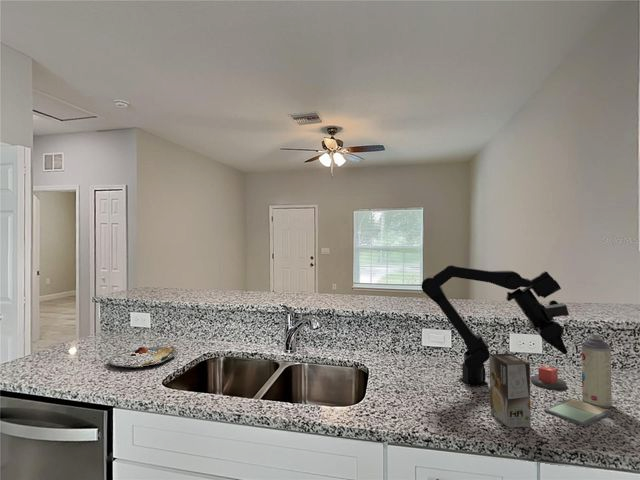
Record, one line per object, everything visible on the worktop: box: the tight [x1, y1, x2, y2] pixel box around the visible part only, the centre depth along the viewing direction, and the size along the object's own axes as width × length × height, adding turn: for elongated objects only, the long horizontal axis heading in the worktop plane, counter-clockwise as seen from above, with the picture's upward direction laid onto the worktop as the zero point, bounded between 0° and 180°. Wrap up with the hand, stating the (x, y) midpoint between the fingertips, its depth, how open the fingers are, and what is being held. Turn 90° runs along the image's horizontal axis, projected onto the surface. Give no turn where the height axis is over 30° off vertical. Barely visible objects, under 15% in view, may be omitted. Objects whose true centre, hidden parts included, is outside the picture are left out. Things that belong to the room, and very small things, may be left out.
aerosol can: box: [581, 332, 613, 410], centre depth 108 cm, size 7×7×20 cm
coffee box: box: [488, 353, 532, 429], centre depth 99 cm, size 9×6×16 cm
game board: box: [544, 398, 612, 428], centre depth 102 cm, size 14×10×1 cm
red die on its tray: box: [530, 365, 567, 391], centre depth 123 cm, size 10×10×5 cm
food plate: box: [108, 346, 178, 368], centre depth 151 cm, size 25×23×4 cm
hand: (561, 349), depth 116 cm, fingers open, 9 cm apart
